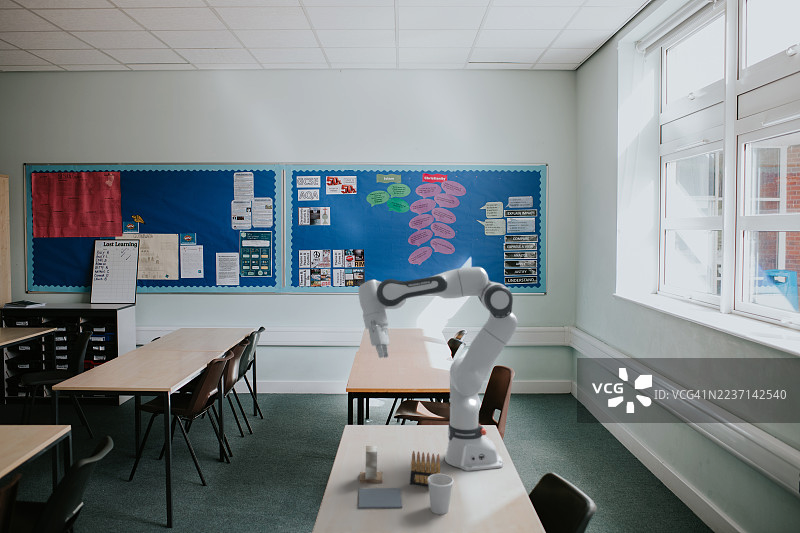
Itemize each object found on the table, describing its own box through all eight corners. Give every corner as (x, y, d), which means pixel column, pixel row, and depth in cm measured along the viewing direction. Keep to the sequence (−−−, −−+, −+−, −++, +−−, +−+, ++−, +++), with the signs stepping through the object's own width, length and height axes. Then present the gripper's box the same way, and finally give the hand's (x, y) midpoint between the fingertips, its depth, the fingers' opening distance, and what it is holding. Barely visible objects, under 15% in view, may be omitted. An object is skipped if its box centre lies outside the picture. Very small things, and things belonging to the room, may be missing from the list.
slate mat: (400, 489, 178) (400, 488, 178) (402, 508, 166) (402, 506, 166) (359, 490, 177) (359, 488, 177) (358, 508, 166) (358, 506, 165)
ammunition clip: (409, 484, 182) (410, 451, 181) (410, 482, 184) (411, 449, 183) (439, 489, 180) (440, 455, 179) (440, 486, 181) (441, 453, 181)
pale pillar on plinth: (381, 475, 189) (382, 445, 188) (382, 483, 183) (382, 452, 182) (359, 475, 188) (360, 445, 188) (359, 483, 182) (360, 452, 182)
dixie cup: (434, 518, 161) (434, 487, 160) (422, 505, 168) (422, 475, 168) (457, 513, 164) (458, 482, 163) (444, 500, 172) (445, 471, 171)
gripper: (378, 317, 188) (387, 355, 186) (388, 321, 208) (396, 355, 206) (362, 322, 189) (370, 359, 186) (373, 325, 209) (380, 359, 206)
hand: (384, 357), depth 196 cm, fingers open, 8 cm apart
